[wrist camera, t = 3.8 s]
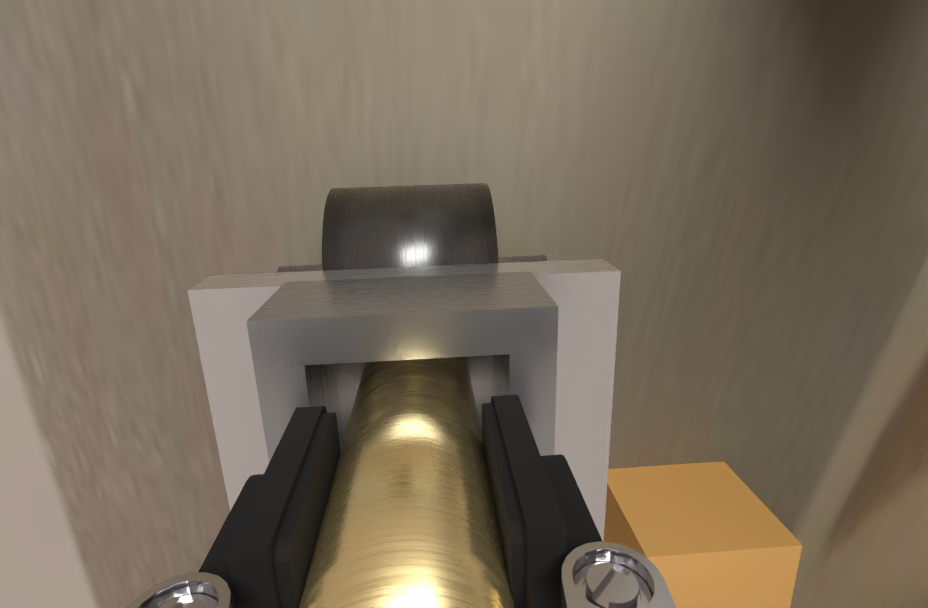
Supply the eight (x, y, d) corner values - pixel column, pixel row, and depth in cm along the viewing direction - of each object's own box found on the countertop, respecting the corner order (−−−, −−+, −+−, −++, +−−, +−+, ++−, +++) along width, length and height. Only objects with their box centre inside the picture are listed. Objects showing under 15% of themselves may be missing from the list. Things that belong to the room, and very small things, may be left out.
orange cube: (722, 460, 25) (802, 545, 20) (710, 545, 26) (782, 646, 21) (599, 468, 24) (647, 557, 19) (594, 554, 26) (636, 659, 21)
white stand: (554, 174, 20) (683, 207, 10) (546, 518, 25) (627, 770, 15) (264, 184, 19) (95, 229, 9) (313, 535, 24) (235, 811, 14)
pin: (469, 332, 14) (543, 645, 5) (472, 432, 15) (538, 837, 6) (355, 338, 14) (237, 672, 5) (365, 438, 15) (278, 865, 6)
